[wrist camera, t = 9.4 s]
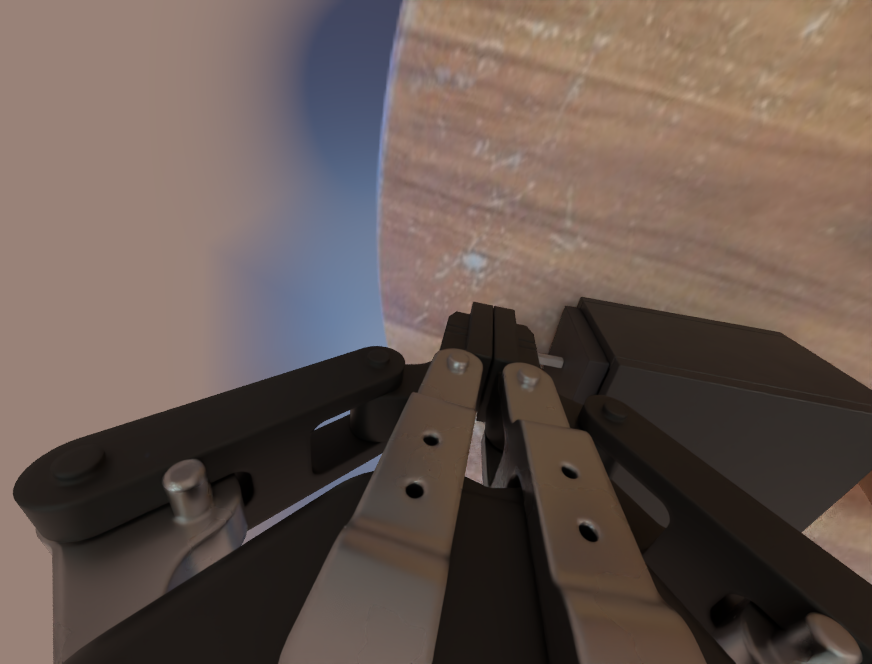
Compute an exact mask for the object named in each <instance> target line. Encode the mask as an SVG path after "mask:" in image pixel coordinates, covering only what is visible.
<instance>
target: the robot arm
mask: <svg viewBox="0 0 872 664" xmlns="http://www.w3.org/2000/svg"><path fill="white" fill-rule="evenodd" d="M536 349H537V348H536V344H535V339H534V334H533V333H532V332H531V331H530V330H529V328H528V327H527V326H524V325H519V324H516V318H515V310H512V309H507V308H502V307H497V306H494V308H493V306H492V305H487V304H482V303H478V302H473V304H472V309H471V313H470V314H466V313H461V312H457V311H456V312H455V313H453V314H452V315H451V316H449V318H448V322H447V326H446V329H445V333H444V336H443V340H442V344H441V347H440V351H438V352H437V353H436V354H435V355H434V357H433V359H432V361H431V362H428V363H424V364H415V365H413V364H405V360H404V358H403V356H402V355H401V354H400V353H399V352H397V351H395V350H393V349H391V348H387V347H382V346H371V347H366V348H362V349H359V350H356V351H353V352H350V353H346V354H344V355H340V356H337V357H334V358H331V359H328V360H324V361H321V362H318V363H315V364H312V365H309V366H306V367H303V368H299V369H296V370H293V371H290V372H287V373H283V374H281V375H277V376H274V377H271V378H268V379H264V380H261V381H259V382H255V383H252V384H249V385H246V386H242V387H239V388H236V389H233V390H230V391H227V392H223V393H220V394H217V395H214V396H211V397H208V398H205V399H201V400H198V401H195V402H192V403H189V404H186V405H182V406H180V407H176V408H173V409H170V410H167V411H164V412H161V413H157V414H154V415H151V416H148V417H145V418H142V419H138V420H135V421H132V422H129V423H126V424H123V425H119V426H116V427H113V428H110V429H107V430H104V431H101V432H98V433H94V434H91V435H88V436H85V437H82V438H79V439H76V440H73V441H70V442H68V443H66V444H63V445H61V446H59V447H57V448H55V449H53V450H51V451H50V452H48V453H46V454H45V455H43V456H41V457H40V458H39V459H37V460H36V461H35V462H33V463H32V464H31V465H30V466H29V467H28V468H26V469H25V471H24V472H23V473H22V474H21V475H20V477H19V478H18V480H17V481H16V483H15V486H14V489H13V496H14V499H15V501H16V502H17V503H18V505H19V506H20V508H21V509H22V510H23V511H24V513H25V514H26V515H27V517H28V518H29V519H30V521H31V522H32V523H33V525H34V526H35V527H36V533H37V537H38V538H39V539H40V540H41V542H42V543H43V544H44V546H45V547H46V548H47V549H48V551H49V552H50V553H51V555H52V563H53V656H54V657H53V658H54V659H53V660H54V664H872V585H871V584H870V583H869V582H867V581H866V580H865V579H863V578H862V577H860V576H859V575H858V574H856V573H855V572H854V571H852V570H851V569H850V568H848V567H847V566H845V565H844V564H843V563H841V562H840V561H839V560H837V559H836V558H835V557H833V556H832V555H831V554H829V553H828V552H826V551H825V550H824V549H822V548H821V547H820V546H818V545H817V544H816V543H814V542H813V541H812V540H810V539H809V538H807V537H806V536H805V535H803V534H802V533H801V532H799V531H798V530H797V529H795V528H794V527H792V526H791V525H790V524H788V523H787V522H786V521H784V520H783V519H782V518H780V517H779V516H778V515H776V514H775V513H773V512H772V511H771V510H769V509H768V508H767V507H765V506H764V505H763V504H761V503H760V502H758V501H757V500H756V499H754V498H753V497H752V496H750V495H749V494H748V493H746V492H745V491H744V490H742V489H741V488H739V487H738V486H737V485H735V484H734V483H733V482H731V481H730V480H729V479H727V478H726V477H724V476H723V475H722V474H720V473H719V472H718V471H716V470H715V469H714V468H712V467H711V466H710V465H708V464H707V463H705V462H704V461H703V460H701V459H700V458H699V457H697V456H696V455H695V454H693V453H692V452H691V451H689V450H688V449H686V448H685V447H684V446H682V445H681V444H680V443H678V442H677V441H676V440H674V439H673V438H671V437H670V436H669V435H667V434H666V433H665V432H663V431H662V430H661V429H659V428H658V427H657V426H655V425H654V424H652V423H651V422H650V421H648V420H647V419H646V418H644V417H643V416H642V415H640V414H639V413H637V412H636V411H635V410H633V409H632V408H631V407H629V406H628V405H626V404H625V403H623V402H621V401H619V400H617V399H615V398H612V397H609V396H605V395H592V396H589V397H588V398H587V399H586V400H585V402H584V404H583V405H582V404H580V403H578V402H575V401H573V400H571V399H568V398H566V397H564V396H562V395H560V394H558V393H557V390H556V388H555V385H554V382H553V380H552V378H551V377H550V376H549V375H548V374H547V373H546V372H545V371H543V370H541V368H540V363H539V358H538V353H537V351H536ZM349 410H350V414H349V415H347V416H345V417H343V418H341V419H338V420H336V421H334V422H332V423H329V424H327V425H325V426H323V427H321V428H318V429H317V430H314V429H315V428H316V427H317V426H318V425H319V424H321V423H322V422H324V421H326V420H328V419H330V418H333V417H335V416H337V415H339V414H342V413H344V412H346V411H349ZM476 413H477V420H476V421H481V422H485V430H484V434H483V437H482V440H481V455H482V476H483V485H482V484H480V483H478V482H476V481H473V480H471V479H469V478H467V477H465V471H466V465H467V460H468V455H469V449H470V444H471V438H472V433H473V428H474V422H475V417H476ZM382 453H383V454H382ZM380 454H382V456H381V458H380V460H379V462H378V464H377V466H376V469H375V470H374V471H372V472H368V473H364V474H361V475H358V476H355V477H353V478H350V479H348V480H346V481H344V482H342V483H340V484H339V485H337V486H335V487H334V488H332V489H331V490H329V491H327V492H326V493H324V494H323V495H321V496H319V497H318V498H316V499H315V500H313V501H311V502H310V503H308V504H307V505H305V506H304V507H302V508H300V509H299V510H297V511H296V512H294V513H292V514H291V515H289V516H288V517H286V518H285V519H283V520H281V521H280V522H278V523H277V524H275V525H273V526H272V527H270V528H269V529H267V530H265V531H264V532H262V533H261V534H259V535H258V536H256V537H255V538H253V539H251V540H250V541H248V542H246V543H245V544H244V545H242V543H243V541H244V539H245V537H246V533H247V531H248V530H250V529H252V528H253V527H255V526H257V525H259V524H260V523H262V522H264V521H265V520H267V519H269V518H271V517H272V516H274V515H276V514H278V513H279V512H281V511H283V510H284V509H286V508H288V507H290V506H291V505H293V504H295V503H297V502H298V501H300V500H302V499H304V498H305V497H307V496H309V495H311V494H312V493H314V492H316V491H317V490H319V489H321V488H323V487H324V486H326V485H328V484H330V483H331V482H333V481H335V480H337V479H338V478H340V477H342V476H343V475H345V474H347V473H349V472H350V471H352V470H354V469H356V468H357V467H359V466H361V465H363V464H364V463H366V462H368V461H369V460H371V459H373V458H375V457H376V456H378V455H380ZM620 465H621V466H622V467H623V468H624V469H625V470H626V471H628V472H629V473H630V474H631V475H632V476H633V477H634V478H635V479H637V480H638V481H639V482H640V483H641V484H642V485H643V486H644V487H645V488H647V489H648V490H649V491H650V492H651V493H652V494H653V495H654V496H656V497H657V498H658V499H659V500H660V501H661V502H662V503H663V504H664V506H665V507H666V509H667V511H668V513H669V517H670V522H669V525H668V526H667V528H665V527H663V526H661V525H660V524H658V523H657V522H656V521H655V520H654V519H653V518H652V517H651V516H650V515H649V514H648V513H646V512H645V511H644V510H643V509H642V508H641V507H640V506H639V505H638V504H637V503H636V502H635V501H634V500H633V499H632V498H631V497H630V496H629V495H628V494H626V493H625V492H624V491H623V490H622V489H621V488H620V487H619V486H618V485H617V484H616V483H615V482H614V481H613V480H612V478H613V476H614V474H615V473H616V471H617V470H618V468H619V467H620ZM241 545H242V546H241Z"/></svg>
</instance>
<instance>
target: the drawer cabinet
mask: <svg viewBox="0 0 872 664" xmlns="http://www.w3.org/2000/svg"><path fill="white" fill-rule="evenodd" d="M577 308H580V309H581V311H582V313H583V314H584V316H585V318H586V320H587V322H588V324H589V326H590V328H591V330H592V331H593V333H594V335H595V337H596V339H597V341H598V343H599V345H600V347H601V348H602V350H603V352H604V354H605V356H606V358H607V360H608V362H609V364H610V366H609V369H610V370H609V372H608V374H607V377H606V379H605V381H604V383H603V385H602V387H601V389H600V392H599V394H598V395H605V396H609V397H612V398H615V399H617V400H619V401H621V402H623V403H625V404H626V405H628V406H629V407H631V408H632V409H633V410H635V411H636V412H637V413H639V414H640V415H642V416H643V417H644V418H646V419H647V420H648V421H650V422H651V423H652V424H654V425H655V426H657V427H658V428H659V429H661V430H662V431H663V432H665V433H666V434H667V435H669V436H670V437H671V438H673V439H674V440H676V441H677V442H678V443H680V444H681V445H682V446H684V447H685V448H686V449H688V450H689V451H691V452H692V453H693V454H695V455H696V456H697V457H699V458H700V459H701V460H703V461H704V462H705V463H707V464H708V465H710V466H711V467H712V468H714V469H715V470H716V471H718V472H719V473H720V474H722V475H723V476H724V477H726V478H727V479H729V480H730V481H731V482H733V483H734V484H735V485H737V486H738V487H739V488H741V489H742V490H744V491H745V492H746V493H748V494H749V495H750V496H752V497H753V498H754V499H756V500H757V501H758V502H760V503H761V504H763V505H764V506H765V507H767V508H768V509H769V510H771V511H772V512H773V513H775V514H776V515H778V516H779V517H780V518H782V519H783V520H784V521H786V522H787V523H788V524H790V525H791V526H792V527H794V528H795V529H797V530H798V531H799V532H803V531H804V530H805V529H806V528H807V527H808V526H809V525H811V524H812V523H813V522H814V521H815V520H816V519H817V518H819V517H820V516H821V515H822V514H823V513H824V512H825V511H826V510H828V509H829V508H830V507H831V506H832V505H833V504H834V503H836V502H837V501H838V500H839V499H840V498H841V497H842V496H844V495H845V494H846V493H847V492H848V491H849V490H850V489H851V488H853V487H854V486H855V485H856V484H857V483H858V482H859V481H861V480H862V479H863V478H864V477H865V476H866V475H867V474H868V473H870V472H871V471H872V390H871V389H869V388H868V387H866V386H865V385H863V384H861V383H860V382H858V381H857V380H855V379H853V378H852V377H850V376H849V375H847V374H846V373H844V372H842V371H841V370H839V369H838V368H836V367H835V366H833V365H831V364H830V363H828V362H827V361H825V360H823V359H822V358H820V357H819V356H817V355H816V354H814V353H812V352H811V351H809V350H808V349H806V348H805V347H803V346H801V345H800V344H798V343H797V342H795V341H793V340H792V339H790V338H788V337H787V336H785V335H784V334H782V333H781V332H775V331H769V330H764V329H758V328H753V327H747V326H741V325H736V324H730V323H725V322H719V321H713V320H708V319H702V318H697V317H691V316H685V315H680V314H674V313H669V312H663V311H657V310H652V309H646V308H641V307H635V306H629V305H624V304H618V303H613V302H607V301H601V300H596V299H590V298H585V297H581V298H580V301H579V304H578V306H577ZM612 480H613V481H614V482H615V483H616V484H617V485H618V486H619V487H620V488H621V489H622V490H623V491H624V492H625V493H626V494H628V495H629V496H630V497H631V498H632V499H633V500H634V501H635V502H636V503H637V504H638V505H639V506H640V507H641V508H642V509H643V510H644V511H645V512H646V513H648V514H649V515H650V516H651V517H652V518H653V519H654V520H655V521H656V522H657V523H658V524H660V525H661V526H663V527H665V528H667V526H668V525H669V522H670V517H669V513H668V511H667V509H666V507H665V506H664V504H663V503H662V502H661V501H660V500H659V499H658V498H657V497H656V496H654V495H653V494H652V493H651V492H650V491H649V490H648V489H647V488H645V487H644V486H643V485H642V484H641V483H640V482H639V481H638V480H637V479H635V478H634V477H633V476H632V475H631V474H630V473H629V472H628V471H626V470H625V469H624V468H623V467H622V466H621V465H620V467H619V468H618V470H617V471H616V473H615V474H614V476H613V478H612Z"/></svg>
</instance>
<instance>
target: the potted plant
mask: <svg viewBox="0 0 872 664" xmlns="http://www.w3.org/2000/svg"><path fill="white" fill-rule="evenodd" d="M858 483H859V485H860V486H861V488H862V490H863V491H864V493H865V495H866V496H867V498H868V499H869V501H870V503H871V504H872V471H871V472H870V473H868V474H867V475H866V476H865V477H864V478H863V479H862V480H861V481H859V482H858Z"/></svg>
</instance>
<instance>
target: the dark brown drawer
mask: <svg viewBox="0 0 872 664" xmlns="http://www.w3.org/2000/svg"><path fill="white" fill-rule="evenodd" d="M538 358H539V363H540V364H542V365H544V368H543V371H545V372H546V373H547V374H548V375H549V376H550V377H551V378H552V380H553V382H554V385H555V388H556V390H557V393H558V394H560V395H562V396H564V397H566V398H568V399H571V400H573V401H575V402H578V403H580V404H582V405H583V404H584V402H585V400H586V399H587V398H588V397H589V396H592V395H598V394H599V392H600V389H601V387H602V385H603V383H604V381H605V379H606V377H607V374H608V372H609V370H610V369H609V366H610V364H609V362H608V360H607V358H606V356H605V354H604V352H603V350H602V348H601V347H600V345H599V343H598V341H597V339H596V337H595V335H594V333H593V331H592V330H591V328H590V326H589V324H588V322H587V320H586V318H585V316H584V314H583V313H582V311H581V309H580V308H575V307H569V306H565V308H564V311H563V314H562V317H561V319H560V322H559V325H558V328H557V331H556V334H555V337H554V340H553V342H552V345H551V348H550V351H549V354H548V355H547V354H541V353H538ZM483 423H484V424H485V422H483Z"/></svg>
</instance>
